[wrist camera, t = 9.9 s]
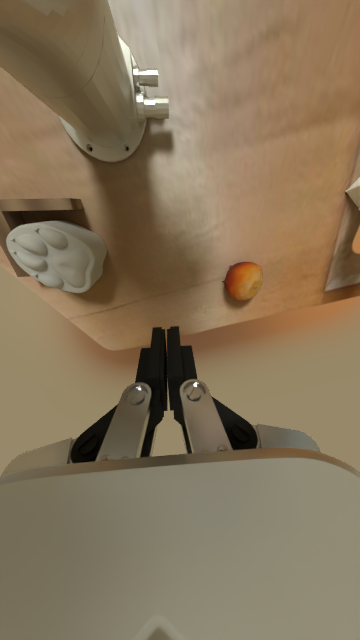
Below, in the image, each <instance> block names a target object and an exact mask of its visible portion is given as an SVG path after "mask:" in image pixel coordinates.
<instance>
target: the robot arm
mask: <svg viewBox="0 0 360 640" xmlns="http://www.w3.org/2000/svg"><path fill="white" fill-rule="evenodd" d="M0 66H1V67H2V68H3V69H4V70H5V71H7V72H8V73H9V74H10V75H11V76H12V77H13V78H15V79H16V80H17V81H18V82H19V83H21V84H22V85H23V86H24V87H25V88H27V89H28V90H29V91H30V92H31V93H32V94H34V95H35V96H36V97H37V98H38V99H40V100H41V101H42V102H43V103H44V104H46V105H47V106H48V107H49V108H50V109H52V110H53V111H54V112H55V113H56V114H58V116H59V119H60V121H61V123H62V125H63V126H64V128H65V130H66V131H67V133H68V134H69V136H70V137H71V138H72V140H73V141H74V142H75V143H76V144H77V145H78V146H79V147H80V148H81V149H82V150H83V151H85V152H86V153H87V154H89V155H90V156H92V157H94V158H95V159H98V160H101V161H103V162H111V163H113V162H120V161H122V160H125V159H127V158H128V157H129V156H131V155H132V154H133V153H134V152H135V150H136V149H137V148H138V146H139V144H140V143H141V141H142V138H143V135H144V132H145V128H146V122H147V117H156V119H169V110H168V96H155V98H152V97H146V92H145V88H144V86H149V87H158V72H157V69H149V68H147V69H139V67H138V65H137V63H136V60H135V58H134V56H133V54H132V53H131V51H130V49H129V48H128V46H127V45H126V43H125V42H124V41H123V40H122V38H121V37H120V36H119V35H118V34H117V31H116V28H115V24H114V21H113V17H112V14H111V10H110V7H109V3H108V0H0ZM91 147H92V148H93V150H92V151H90V148H91ZM127 147H128V148H129V151H126V148H127ZM167 376H168V389H169V401H170V410H174V419H175V420H176V421H178V422H179V424H181V430H182V434H183V439H184V444H185V449H186V454H179V455H167V456H155V457H152V453H153V447H154V442H155V437H156V431H157V425H158V424H159V423H160V422H161V421H162V418H163V417H164V411H167ZM0 640H360V472H359V471H357V470H356V469H355V468H353V467H352V466H350V465H348V464H346V463H344V462H342V461H340V460H338V459H336V458H334V457H331V456H328V455H326V454H323V453H321V452H320V449H319V447H318V446H317V444H316V442H315V441H314V440H313V439H312V438H311V437H310V436H308V435H307V434H305V433H303V432H300V431H297V430H291V429H285V428H279V427H273V426H267V425H262V424H257V426H256V425H251V424H250V423H249V422H247V421H246V420H245V419H243V418H242V417H240V416H239V415H237V414H236V413H235V412H233V411H232V410H230V409H229V408H228V407H226V406H225V405H223V404H222V403H220V402H219V401H218V400H216V399H215V398H213V397H212V396H211V394H210V392H209V389H208V387H207V386H206V384H205V383H203V382H202V381H200V380H197V374H196V369H195V363H194V357H193V352H192V346H180V336H179V326H175V327H170V329H167V351H166V339H165V329H162V328H161V327H155V328H153V331H152V340H151V348H142V349H141V353H140V359H139V364H138V369H137V375H136V381H135V383H134V384H131V385H130V386H128V387H127V388H126V389H125V391H124V392H123V394H122V396H121V399H120V401H119V403H118V405H116V406H115V407H114V408H113V409H112V410H110V411H109V412H108V413H107V414H106V415H104V416H103V417H102V418H100V419H99V420H98V421H97V422H96V423H94V424H93V425H92V426H91V427H89V428H88V429H87V430H86V431H85V432H83V433H82V434H81V435H80V436H79V437H78V438H76V439H72V438H69V439H66V440H63V441H59V442H56V443H53V444H50V445H47V446H44V447H40V448H37V449H34V450H31V451H27V452H25V453H22V454H20V455H19V456H17V457H16V458H15V459H14V460H12V461H11V462H10V463H9V464H8V466H7V467H6V468H5V470H4V471H3V473H2V475H1V477H0Z"/></svg>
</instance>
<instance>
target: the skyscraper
mask: <svg viewBox="0 0 360 640" xmlns="http://www.w3.org/2000/svg"><path fill="white" fill-rule="evenodd" d="M346 193H348V195H349V196H350V198H351V199H352V200H353V202H354V203H355V204H356V206H357V207H358V210H360V177H359V178H358V179H357V181H356V182H355V183H354V184H353V185H352V186H351V187H350V188H349V189H348V190H346Z"/></svg>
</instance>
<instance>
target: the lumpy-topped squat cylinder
mask: <svg viewBox="0 0 360 640" xmlns="http://www.w3.org/2000/svg"><path fill="white" fill-rule="evenodd" d="M6 243H7V248H8V250H9V252H10V254H11V256H12V257H13V259H14V260H15V261H16V263H17V264H18V265H19V266H20V267H21V268H22V269H23V270H24V271H25V272H27V273H28V274H29V275H30V276H32V277H33V278H34V279H36V280H37V281H39V282H41V283H43V284H44V285H45V286H47V287H51V288H57V289H60V290H64V291H68V292H72V293H83V292H85V291H87V290H89V289H90V288H91V287H92V286H93V285H94V283H95V282H96V281H97V280H98V279H99V278H100V277H101V276H102V273H103V262H104V259H105V257H106V254H107V247H106V245H105V243H104V241H103V240H102V239H101V238H100V237H99V236H98V235H97V234H95V233H93V232H92V231H90V230H88V229H86V228H84V227H82V226H79V225H77V224H74V223H72V222H69V221H65V220H53V221H45V222H38V223H30V224H25V225H21V226H18V227H16V228H15V229H13V230H12V231H11V232H10V233H9V234H8V236H7V239H6Z"/></svg>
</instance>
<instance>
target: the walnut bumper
mask: <svg viewBox="0 0 360 640" xmlns="http://www.w3.org/2000/svg"><path fill="white" fill-rule="evenodd" d="M80 209H83V207H82V204H81V200H80V199H71V198H62V199H3V200H0V245H1V246H2V248H3V250H4V252H5V254H6V256H7V258H8V259H9V261H10V263H11V265H12V267H13V269H14V271H15V272H16V274H17V276H18V277H26V276H30V275H29V274H28V273H27V272H25V271H24V270H23V269H22V268H21V267H20V266H19V265H18V264H17V263H16V261H15V260H14V259H13V257H12V256H11V254H10V252H9V250H8V248H7V243H6V239H7V236H8V234H9V233H10V232H11V231H12V230H13V229H15V228H16V227H18V226H21V225H25V222H24V220H23V218H22V216H21V213H20V211H37V210H80Z"/></svg>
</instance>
